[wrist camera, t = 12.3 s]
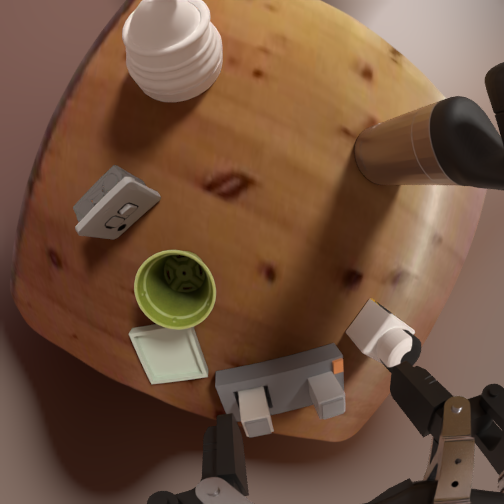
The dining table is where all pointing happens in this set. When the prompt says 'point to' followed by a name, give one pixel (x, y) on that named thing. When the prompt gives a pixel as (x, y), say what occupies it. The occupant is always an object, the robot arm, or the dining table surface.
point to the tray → (169, 353)
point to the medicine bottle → (384, 336)
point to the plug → (255, 412)
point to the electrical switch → (113, 204)
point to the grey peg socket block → (289, 382)
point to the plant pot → (175, 289)
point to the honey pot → (172, 49)
